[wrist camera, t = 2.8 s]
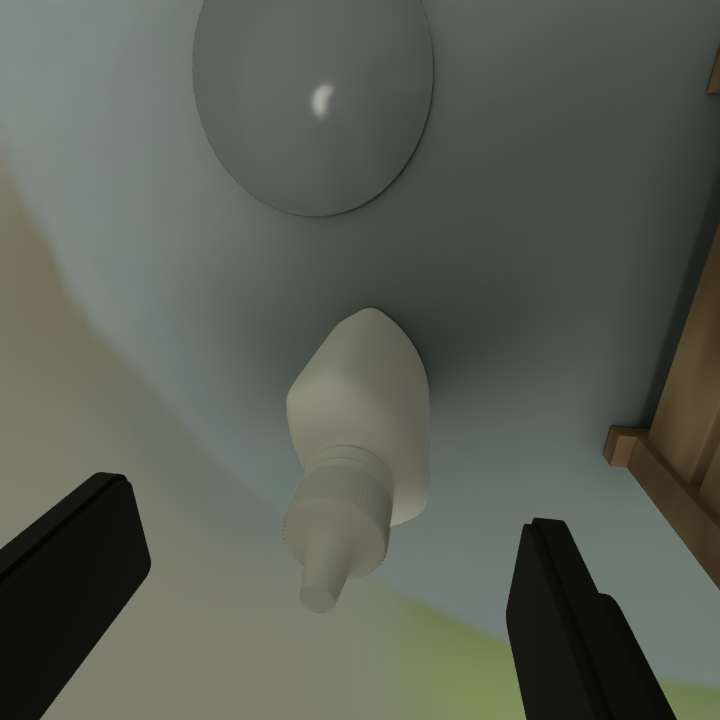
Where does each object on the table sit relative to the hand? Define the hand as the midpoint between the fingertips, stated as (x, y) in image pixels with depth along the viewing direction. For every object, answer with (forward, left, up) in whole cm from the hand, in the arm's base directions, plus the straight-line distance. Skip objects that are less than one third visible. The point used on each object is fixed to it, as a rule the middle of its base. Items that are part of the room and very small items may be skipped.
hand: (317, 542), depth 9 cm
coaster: (-11, -3, -10) cm, 16 cm away
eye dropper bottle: (0, 0, -11) cm, 11 cm away
